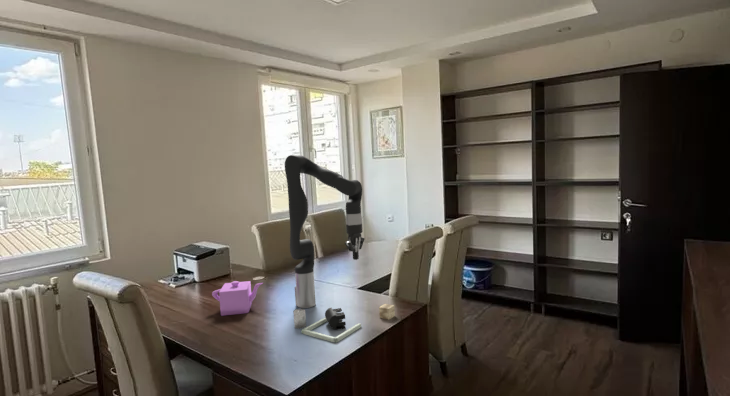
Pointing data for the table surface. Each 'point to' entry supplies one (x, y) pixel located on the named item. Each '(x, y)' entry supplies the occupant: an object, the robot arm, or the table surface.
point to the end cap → (335, 318)
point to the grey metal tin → (299, 318)
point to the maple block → (386, 311)
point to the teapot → (235, 297)
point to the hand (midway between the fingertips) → (355, 259)
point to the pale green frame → (326, 337)
